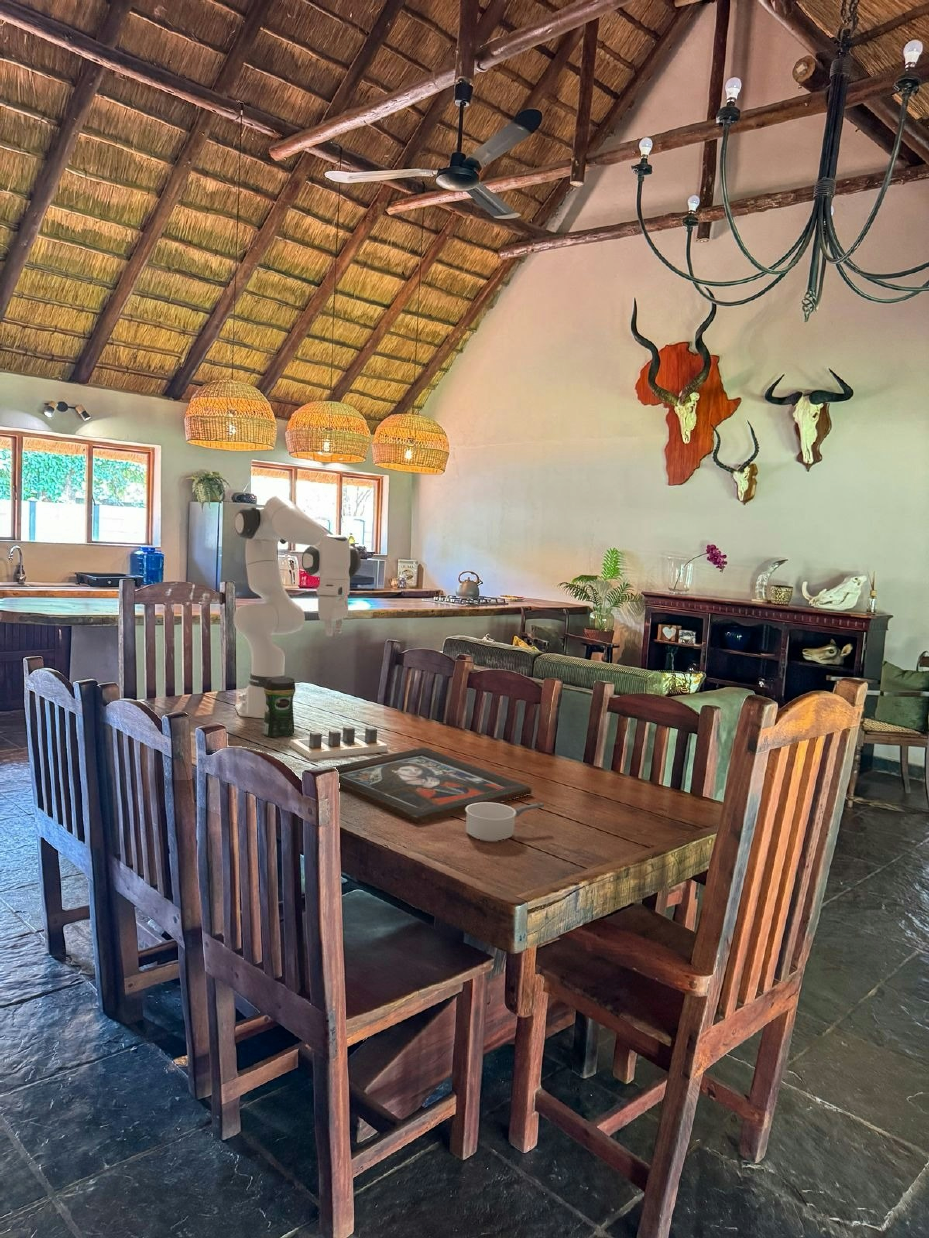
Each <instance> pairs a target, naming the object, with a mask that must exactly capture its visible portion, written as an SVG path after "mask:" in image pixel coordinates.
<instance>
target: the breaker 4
mask: <svg viewBox="0 0 929 1238" xmlns="http://www.w3.org/2000/svg"><path fill="white" fill-rule="evenodd" d="M364 734H365V741H366V742H368V743H376V742H377V740H378V729H377V728H376V727H365V731H364Z"/></svg>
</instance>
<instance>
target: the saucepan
mask: <svg viewBox="0 0 929 1238" xmlns="http://www.w3.org/2000/svg"><path fill="white" fill-rule="evenodd" d="M543 807H545V804H544V803H543V802H539V803H538V802H537V803H534V804H533V803H532V804H528V805H523V806H520V807H517V808H514V807H511V806H509V805H507V804H506V805H505V804H503V803H490V802H481V803H474V804H470V805H468V806H467V807H466V808H465V811H466V812H465V813H466V817H465V818H466V821H465V832H466V834H469V835H470V836H472V837H473V838H475V839H477V840H479V839H480V841H484V842H498V841H497V840H501V841H503V840H502V839H504V840H506V839H508V838H510V837H511V838H512V836H513V835H514V830H515V818H518V817H519V816H521V815H522V813H524V812H525V811H529V810H534V809H539V808H543Z"/></svg>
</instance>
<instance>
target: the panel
mask: <svg viewBox="0 0 929 1238" xmlns="http://www.w3.org/2000/svg"><path fill="white" fill-rule="evenodd" d="M309 738H310V737H309ZM309 738H297V739H290V742H289V743H290V744H289V745H290V746H291V749H294V751H297V752H298V753H299V754H301V753H302V754H303V756H304V757H305V756H306V757H305V758H307V757H308V758H309V759H308V758H307V759H308V760H315V759H316V760H317V759H319V760H320V759H328V758H335V757H338V758H339V757H347V756H348V757H349V756H357V755H367V754H376V753H386V752H387V753H388V749H389V748H388V747H389V746H388V744H387V743H384V742H382V741H380V740H379V739H377V742H376V743H368V742H366V741H365V733H356V734H355V738H354V742H345V741H343V734H341V739H340V746H334V747H332V746H330V745H329V744H328V738H329V736H322V741H321V748H312V747H310V746H309ZM290 746H289V747H290ZM302 754H301V755H302Z"/></svg>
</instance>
